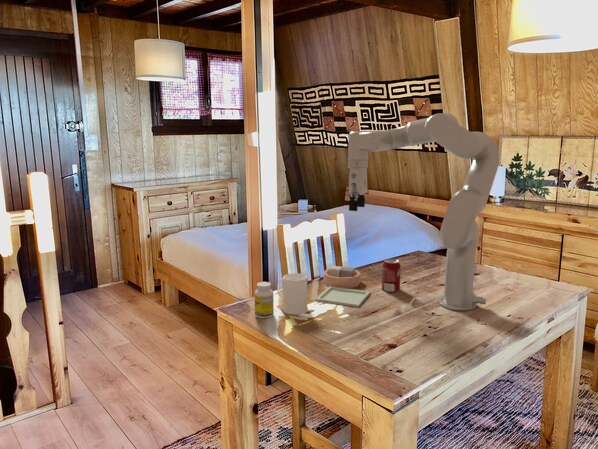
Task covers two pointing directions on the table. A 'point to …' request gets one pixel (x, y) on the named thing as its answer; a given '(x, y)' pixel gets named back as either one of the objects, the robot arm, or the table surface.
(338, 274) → the beige block
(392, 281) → the soda can
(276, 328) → the table surface
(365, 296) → the parts tray
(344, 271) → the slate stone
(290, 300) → the mug
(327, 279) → the bowl
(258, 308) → the pill bottle
